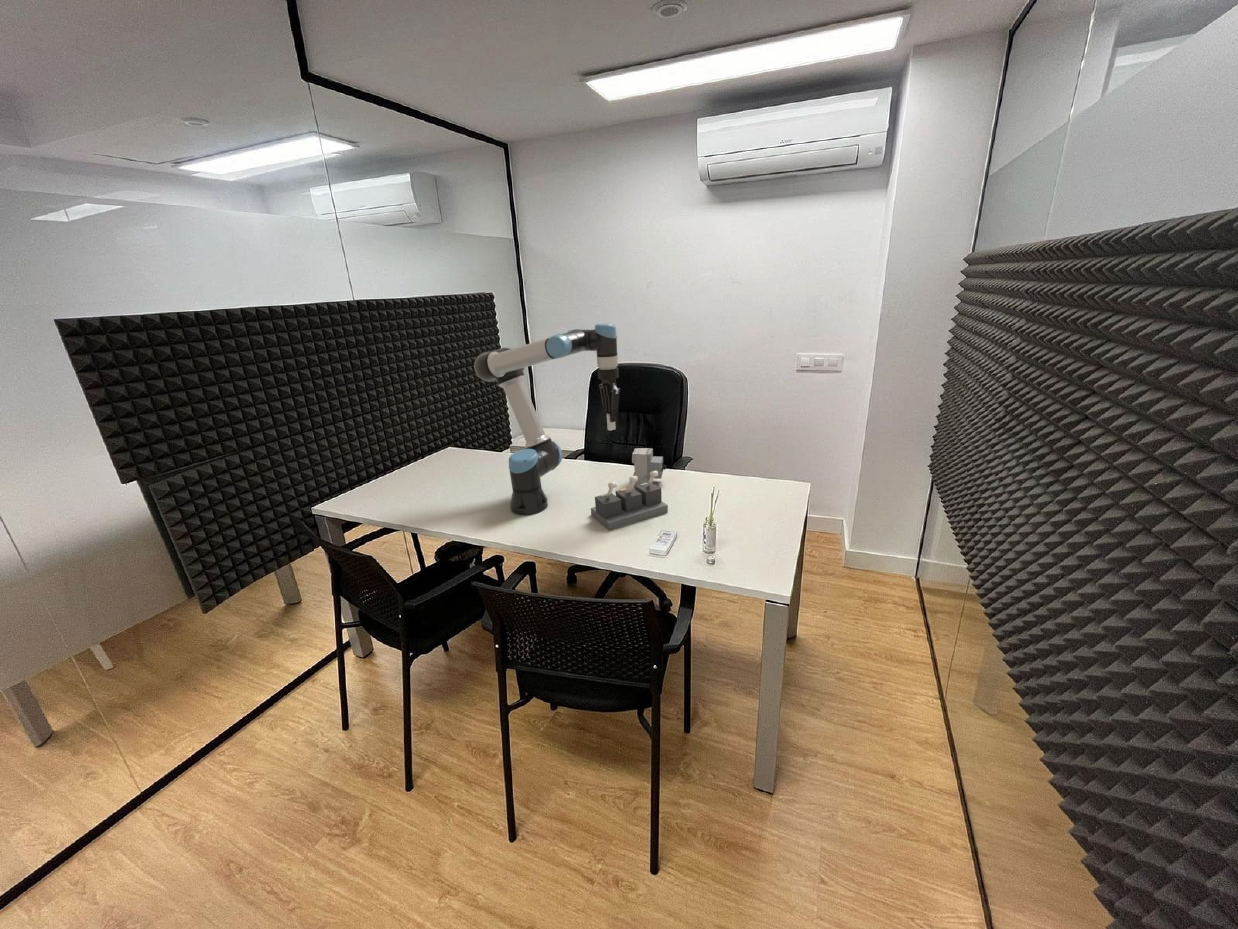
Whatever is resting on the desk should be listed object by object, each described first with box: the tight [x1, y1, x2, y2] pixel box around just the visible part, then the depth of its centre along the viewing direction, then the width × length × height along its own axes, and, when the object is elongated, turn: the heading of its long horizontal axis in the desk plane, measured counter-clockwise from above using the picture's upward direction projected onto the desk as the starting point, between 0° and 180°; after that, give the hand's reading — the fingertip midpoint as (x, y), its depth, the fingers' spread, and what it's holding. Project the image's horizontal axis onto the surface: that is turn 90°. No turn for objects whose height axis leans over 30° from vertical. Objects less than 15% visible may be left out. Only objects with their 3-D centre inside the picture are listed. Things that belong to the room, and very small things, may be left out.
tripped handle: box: [625, 475, 638, 493], centre depth 182 cm, size 2×2×9 cm
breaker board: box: [590, 471, 669, 531], centre depth 186 cm, size 15×26×17 cm, turn 119°
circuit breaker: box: [631, 447, 667, 486], centre depth 213 cm, size 8×14×15 cm, turn 78°
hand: (611, 429), depth 184 cm, fingers closed
